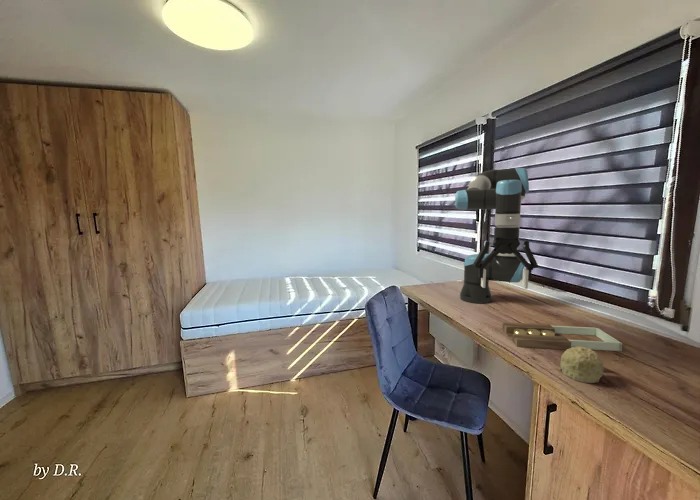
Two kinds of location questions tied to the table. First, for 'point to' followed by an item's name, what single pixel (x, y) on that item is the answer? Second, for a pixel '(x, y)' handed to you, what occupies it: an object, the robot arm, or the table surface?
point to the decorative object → (582, 364)
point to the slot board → (535, 336)
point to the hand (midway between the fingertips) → (503, 287)
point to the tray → (595, 345)
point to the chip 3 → (547, 333)
